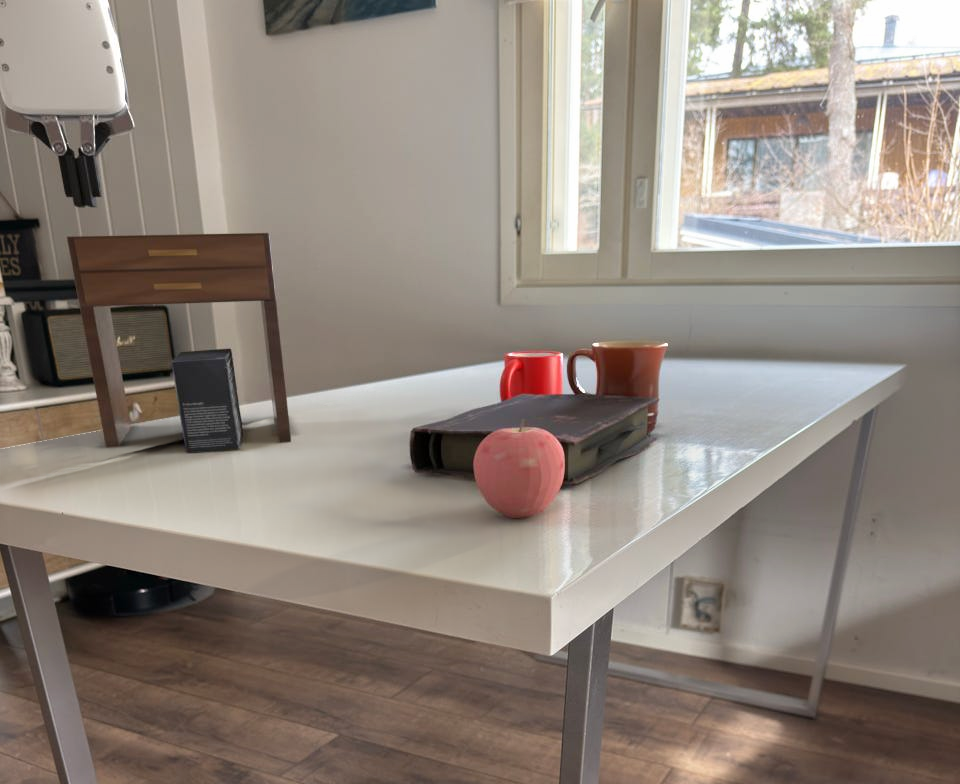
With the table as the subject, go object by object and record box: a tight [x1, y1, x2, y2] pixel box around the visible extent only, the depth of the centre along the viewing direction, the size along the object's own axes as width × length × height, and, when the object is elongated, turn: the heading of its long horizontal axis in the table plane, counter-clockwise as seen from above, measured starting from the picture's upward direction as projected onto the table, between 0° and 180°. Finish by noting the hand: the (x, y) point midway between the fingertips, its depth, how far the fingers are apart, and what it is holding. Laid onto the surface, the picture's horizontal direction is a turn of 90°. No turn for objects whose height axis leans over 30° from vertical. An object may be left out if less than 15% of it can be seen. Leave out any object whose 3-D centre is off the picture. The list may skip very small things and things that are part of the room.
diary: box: [409, 393, 660, 486], centre depth 94 cm, size 19×25×5 cm
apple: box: [473, 419, 565, 519], centre depth 73 cm, size 7×7×8 cm
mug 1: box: [499, 350, 564, 402], centre depth 120 cm, size 8×12×8 cm, turn 149°
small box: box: [170, 348, 244, 454], centre depth 106 cm, size 11×6×10 cm, turn 12°
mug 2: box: [566, 340, 669, 435], centre depth 106 cm, size 12×9×10 cm
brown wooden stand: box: [66, 232, 292, 448], centre depth 107 cm, size 14×21×23 cm
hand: (85, 206), depth 82 cm, fingers closed
